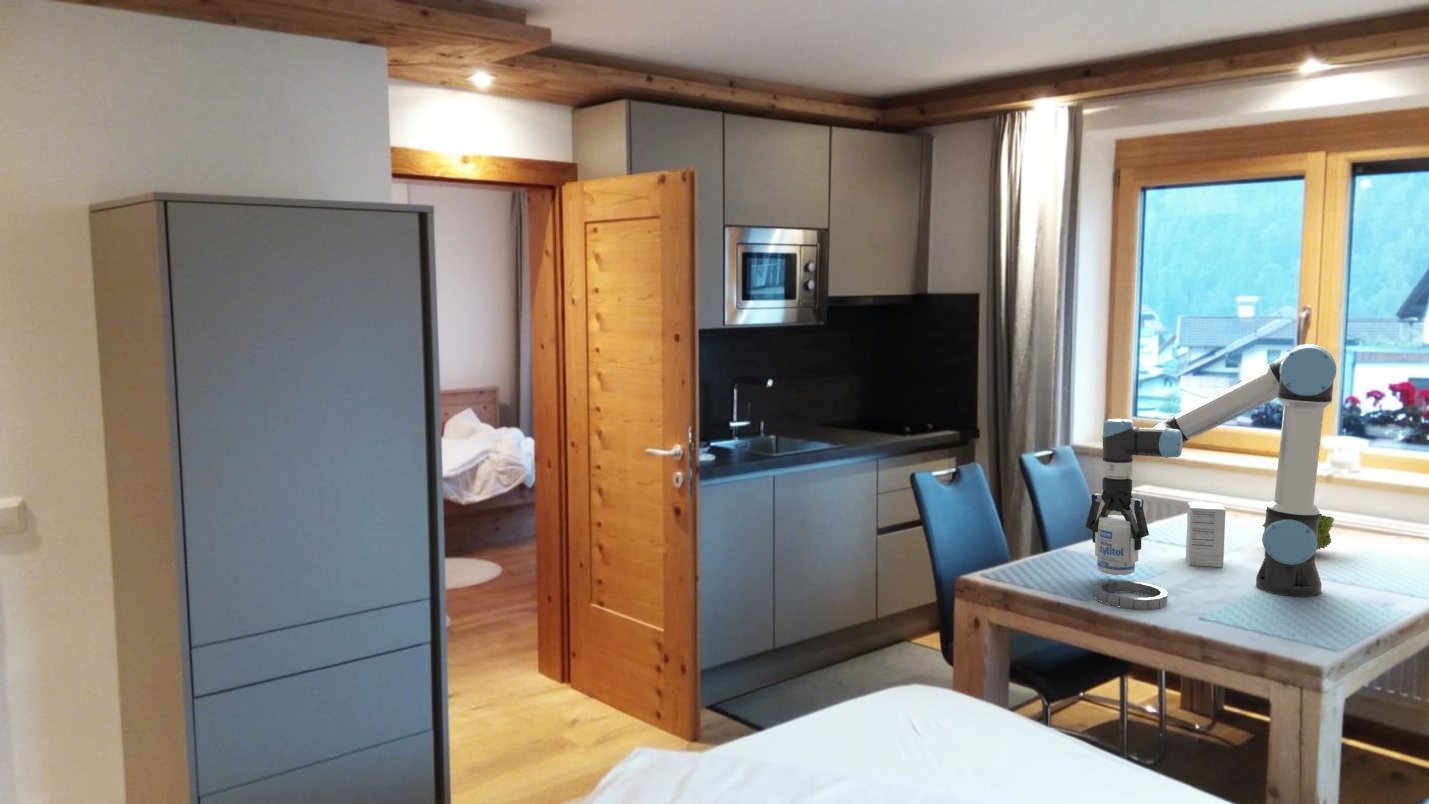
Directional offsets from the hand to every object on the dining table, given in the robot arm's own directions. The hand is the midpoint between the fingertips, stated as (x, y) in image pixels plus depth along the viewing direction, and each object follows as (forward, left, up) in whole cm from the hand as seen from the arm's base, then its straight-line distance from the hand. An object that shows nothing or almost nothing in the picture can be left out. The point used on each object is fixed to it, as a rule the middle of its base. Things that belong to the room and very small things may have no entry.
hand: (1116, 558), depth 285 cm
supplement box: (-7, -37, -7) cm, 38 cm away
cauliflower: (-19, -69, -7) cm, 72 cm away
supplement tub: (0, 0, -4) cm, 4 cm away
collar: (-12, +13, -6) cm, 19 cm away
